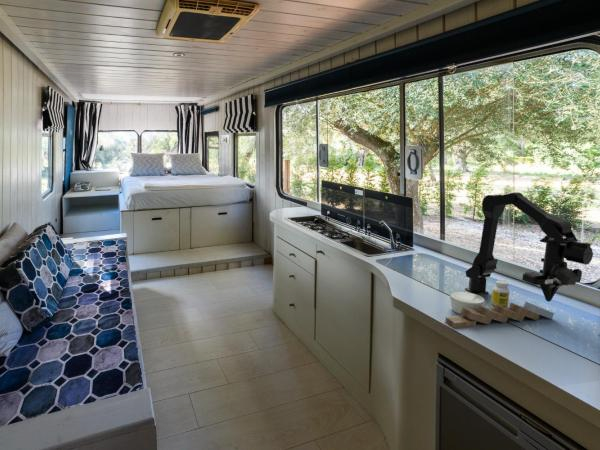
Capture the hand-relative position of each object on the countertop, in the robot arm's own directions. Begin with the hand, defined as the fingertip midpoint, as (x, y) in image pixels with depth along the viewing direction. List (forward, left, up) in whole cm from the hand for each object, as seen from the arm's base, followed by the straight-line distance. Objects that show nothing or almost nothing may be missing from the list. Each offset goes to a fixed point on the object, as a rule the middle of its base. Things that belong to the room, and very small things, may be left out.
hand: (548, 301), depth 142 cm
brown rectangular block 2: (0, -6, -4) cm, 7 cm away
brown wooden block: (0, -18, -4) cm, 19 cm away
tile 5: (0, -30, -5) cm, 30 cm away
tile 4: (0, -24, -4) cm, 25 cm away
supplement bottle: (-10, -11, -6) cm, 16 cm away
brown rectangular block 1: (0, -12, -4) cm, 13 cm away
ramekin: (-9, -25, -6) cm, 27 cm away
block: (0, 0, -4) cm, 5 cm away
